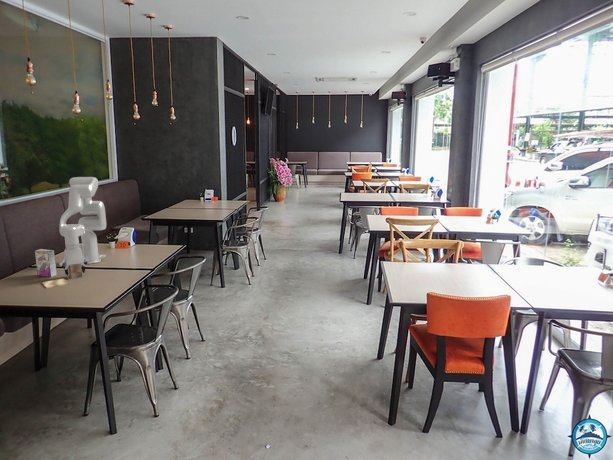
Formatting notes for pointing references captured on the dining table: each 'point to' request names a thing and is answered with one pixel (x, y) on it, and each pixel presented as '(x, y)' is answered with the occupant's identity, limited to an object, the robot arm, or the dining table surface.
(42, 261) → the candy bar box
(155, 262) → the dining table surface
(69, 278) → the tile
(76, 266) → the walnut block
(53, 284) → the cork pad
